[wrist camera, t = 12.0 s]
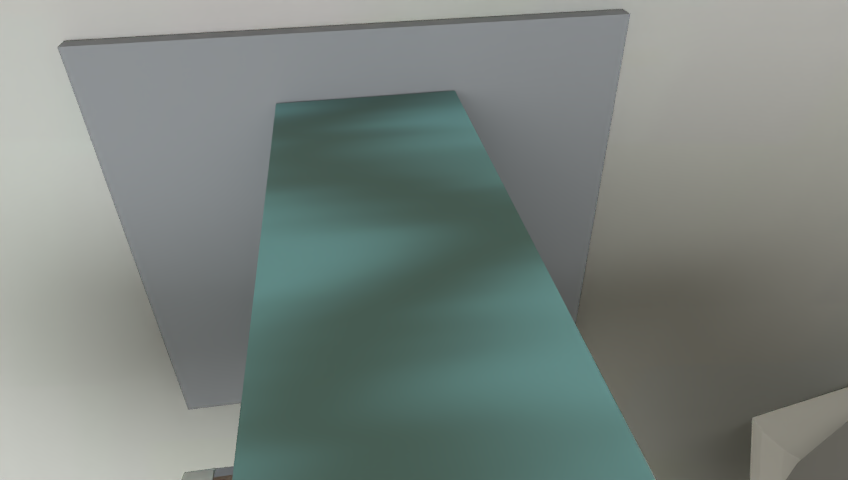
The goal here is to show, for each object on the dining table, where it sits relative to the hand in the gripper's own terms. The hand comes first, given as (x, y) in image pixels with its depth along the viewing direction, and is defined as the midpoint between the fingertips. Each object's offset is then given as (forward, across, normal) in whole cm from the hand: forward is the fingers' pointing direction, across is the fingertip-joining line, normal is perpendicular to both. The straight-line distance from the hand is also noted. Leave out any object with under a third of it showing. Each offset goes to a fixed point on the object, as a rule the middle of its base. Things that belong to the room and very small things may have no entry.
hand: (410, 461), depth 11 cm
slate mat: (+7, 0, 0) cm, 7 cm away
